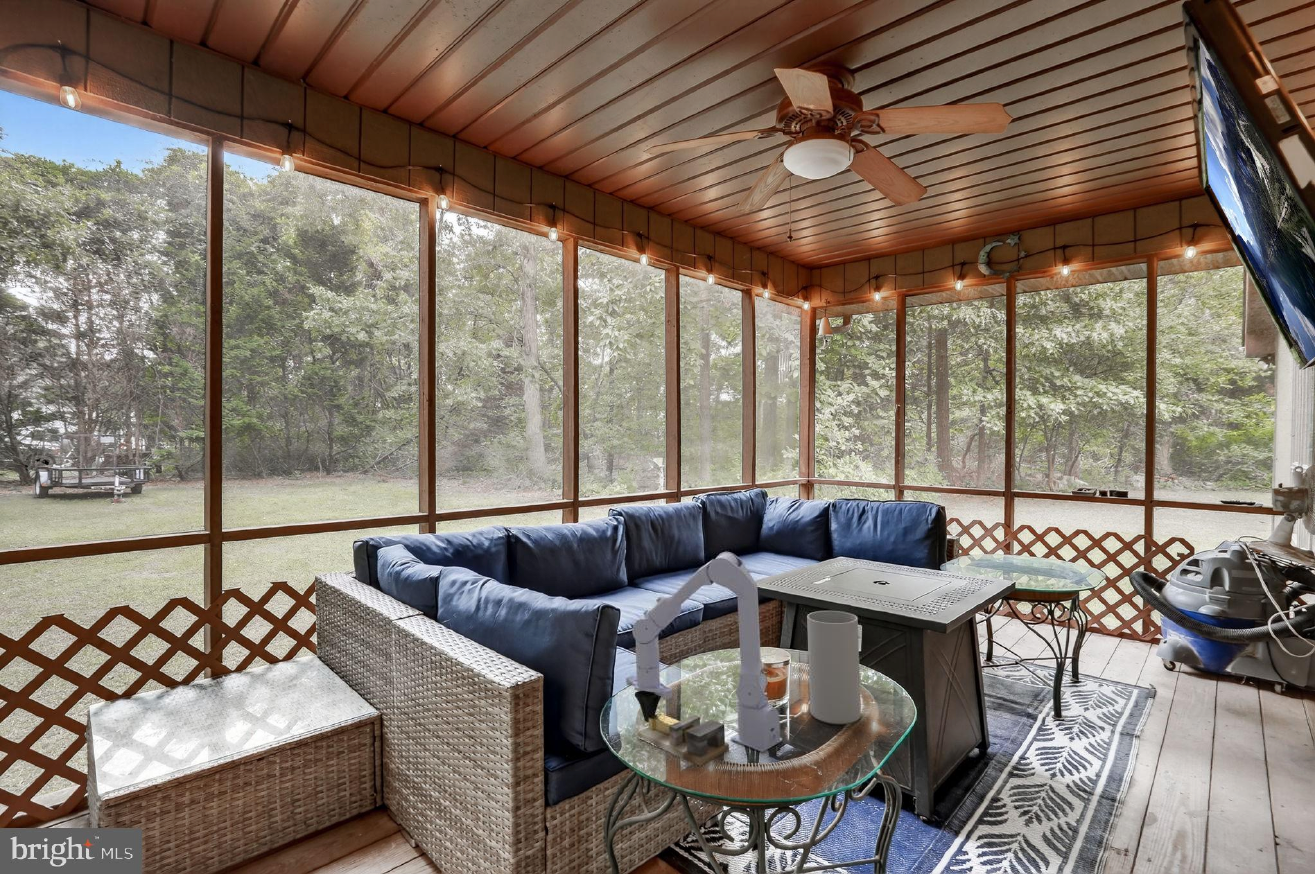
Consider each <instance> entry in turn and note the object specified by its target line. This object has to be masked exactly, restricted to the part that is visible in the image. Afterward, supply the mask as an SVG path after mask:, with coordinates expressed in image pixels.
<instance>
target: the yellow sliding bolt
mask: <svg viewBox="0 0 1315 874" xmlns="http://www.w3.org/2000/svg"><path fill="white" fill-rule="evenodd" d="M679 721H680V720H678V719H675V718H673V717H670V716H667V715H666V713H664V712H659V713H657V714H655V715H654V716H652V717H650V718H649V722H648V727H649V729H652V730H653V729H656V730H658V731H661V732H663V733H666V734H668V735H669V726H670V725H672V724H674V723H677V722H679ZM692 728H694V727H693V726H689V727H687V728H685V729H683V741H684V742H687V733H686V731H688V730H690V729H692Z"/></svg>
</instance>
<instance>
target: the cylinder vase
mask: <svg viewBox="0 0 1315 874" xmlns="http://www.w3.org/2000/svg"><path fill="white" fill-rule="evenodd" d="M806 618H807V621H806V622H807V647H808V649H807V650H808V651H807V654H808V682H809V686H808V687H809V709H810V714H811V715H812V717H814V718H815V719H816V720H819V722H823V723H826V724H832V725H847V724H853V723H854V722H857V721H858V720H859V719H860V718H861V714H862V708H861V680H860V679H861V677H860V654H859V653H860V651H859V650H860V649H859V648H860V647H859V623H858V616H857V615H855V614H853V613H849V612H846V611H838V610H818V611H814V612H810V613H809V614H807V616H806Z"/></svg>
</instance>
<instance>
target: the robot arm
mask: <svg viewBox="0 0 1315 874" xmlns="http://www.w3.org/2000/svg"><path fill="white" fill-rule="evenodd" d="M714 583H715V584H716V585H719V586H721V587H723V588H726V589H727V590H729V591H730V592H732V594H734V595H735V596H736V597H737V613H738V635H739V636H738V637H739V653H740V654H739V657H740V658H739V661H740V666H739V682H738V684H737V686H736V691H735V692H736V697H737V704H736V705H737V728H738V730H737V732H738V733H736V734H735V735H732V736H731V737H730V740H731V741H733V742H735V743H739V744H740V745H744V746H746V747H749V748H751V749H754V750H757V751H759V752H761V753H763V752H765V751H767V750H768V749H770V748H772V747H773V746H775V745H778V744H779V743H780V742H782V741H783V738H782V737H781V726H780V724H781V723H780V722H781V721H780V718H781V717H780V712H779V711H778V709H777V708H775V707H773V706H772V705H771V704H770V703H769V698H768V697H767V695H766V694H765V691H766V688H767V685H768V678H767V677H768V676H767V675H766V673H765V671H764V666H763V661H762V659H761V655H762V654H761V637H760V635H761V632H760V617H759V595H758V592H759V591H758V585H757V582H756V580H755V579H754V577H753V576H752V575H751V573H750V572H749V569H747V567H746V565H745V562H744V561H743V560H742V559H741V558H740V557H738V556H737V555H736V554H735V553H733V552H729V551H724V552H721V553H719V554H718V555H717V556H716V558H715V559H714V558H712V559H711V560H710V561H709V562H707V563H706V564H704V565H702V566H701V567H700V568H699V569H697V571H696V572H694V573H693V575H691V576H690V578H688V579H687V581H685V582H684V583H683V584H682V586H680V588H678V590H677V591H675V593H674V594H665V595H663V596H662V595H660V596H659V597H658V598H656V600H655V602H656V603H655V604H654V605H653V606H652V607H651V608H650V609H649V610H648V609H646V610H645V611H644V612H643V616H641V617H640V618H639V619H637V620H636V621H635V623H634V625H633V626H632V629H631V630H632V636H633V638H634V640H635V665H636V666H635V668H636V675H629V676H626V677H625V681H626V683H625V684H626V686H629V687H630V686H632V687H634V690H635V691H636V692H635V693H634V697H635V698H636V700H637V702H638V704H639V707H640V709H641V712H642V716H643V719H644V721H645V722H646V723H649V718H650V717H652V716H654V715H656V713H657V708H658V705H659V703H660V702H661V698H663V699H664V700H669V699H670V698H673V690H672V688H671V687H670V688H669V687H668V686H667V685H665V684H664V683H662V682H661V677H660V676H661V675H660V651H659V650H660V647H659V634H660V633H661V631H662V630H664V629H665V628H666V627H667V626H668V625H669V624H670V623H671V622H672V621H674V620H675V618H677V617H678V616H679V615H680V614H681V612H682V604H684V603H685V602H686V601H687V600H688V599H689V598H691V596H693V595H694V594H695V593H696V592H697V591H698V590H699V589H701V588H702V587H703V586H705V587H706V586H712V585H713V584H714Z"/></svg>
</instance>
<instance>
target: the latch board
mask: <svg viewBox="0 0 1315 874" xmlns="http://www.w3.org/2000/svg"><path fill="white" fill-rule="evenodd" d="M678 721H679V722H677V723H674V724H672V725H670V726H669V735H668V734H666V733H663V732H661V731H658V730H656V729H653V730H652V729H649V726H648V727H646V728H644V729H642V730H640V731H637V737H638V736H639V737H640V738H643V739H644V740H646V741H649V742H650V743H653V744H654V745H656V746H658V747H661V748H662V749H664V750H663V751H665V750H667V751H669V752H671V753H672V755H674V754H676V755H677V756H676V755H675V756H676V757H678V756H679V757H678V758H681V759H682V758H683V759H682V760H685V761H687V762H689V761H690V763H692V764H694V763H695V764H694V765H696V766H698V765H699V766H698V767H702V766H703V765H705V764H707V763H708V762H710V761H712V760H714V759H716V758H718V757H720V756H722V755H723V754H724V753H727V752H728V751H730V743H729V742H726V738H725V736H726V734H725V724H724V723H723V722H719V721H716V720H714V719H709V720H707V721H704V722H703V723H701V716H699V715H696V714H691V715H690V716H688V717H685V718H684V719H682V720H678ZM689 726H693V727H694V728H692V729H690V730H688V731H686V733H687V742H684V741H683V729H685V728H687V727H689ZM654 745H653V746H654ZM656 746H655V747H656ZM658 747H657V748H658ZM662 749H661V750H662ZM667 751H666V752H667ZM669 752H668V753H669ZM671 753H670V754H671Z"/></svg>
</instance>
